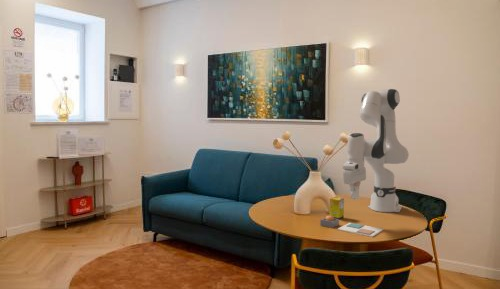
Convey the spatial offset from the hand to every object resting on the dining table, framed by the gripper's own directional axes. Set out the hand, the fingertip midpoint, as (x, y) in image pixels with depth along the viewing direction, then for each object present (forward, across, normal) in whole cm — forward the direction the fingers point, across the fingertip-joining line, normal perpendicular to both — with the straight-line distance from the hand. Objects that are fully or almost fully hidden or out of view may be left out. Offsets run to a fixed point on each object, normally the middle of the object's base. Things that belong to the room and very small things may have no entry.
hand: (354, 190), depth 208 cm
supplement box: (+18, -6, -13) cm, 23 cm away
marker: (+4, 0, 0) cm, 4 cm away
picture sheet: (+18, +8, +7) cm, 21 cm away
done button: (+16, +11, -9) cm, 21 cm away
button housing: (+18, +10, -9) cm, 22 cm away
